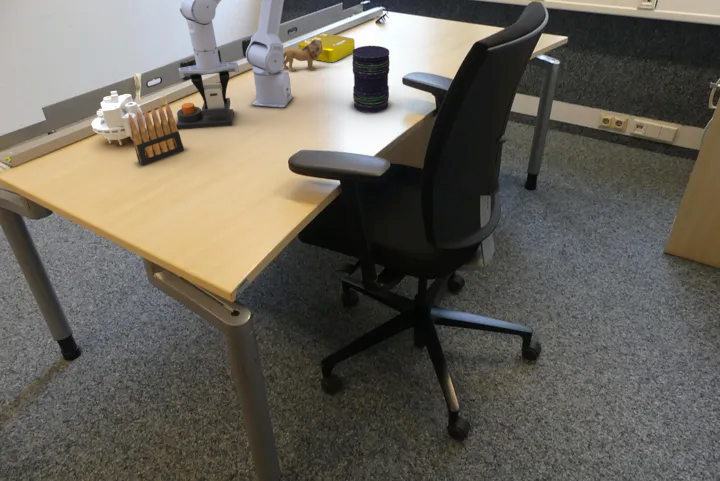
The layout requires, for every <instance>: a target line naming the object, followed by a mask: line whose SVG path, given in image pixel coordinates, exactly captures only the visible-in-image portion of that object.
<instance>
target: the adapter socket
mask: <svg viewBox="0 0 720 481" xmlns="http://www.w3.org/2000/svg"><path fill="white" fill-rule="evenodd" d="M224 106H225V108H218V109H208V107H207V104H205V103H204V102H203V104H202V108H201V110H202V114H203V116H209V115H223V114H229V109H231V98H230V97H226V102H224Z"/></svg>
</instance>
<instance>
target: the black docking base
mask: <svg viewBox="0 0 720 481" xmlns="http://www.w3.org/2000/svg"><path fill="white" fill-rule="evenodd" d="M195 111H196V112H195V113H193V114H183V110H182V108H180V109H179V110H177V112H176V115H177V120H176V126H177V130H183V129H198V128H199V129H200V128H212V127H226V126H227V127H228V126H232V125H233V120H234V113H235V112H234V109H233V108H230V109H229V114H223V115H209V116H203V114H202V108H200V107H199V106H195Z"/></svg>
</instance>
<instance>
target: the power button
mask: <svg viewBox="0 0 720 481" xmlns="http://www.w3.org/2000/svg"><path fill="white" fill-rule="evenodd" d="M195 107H196V106H195V103H193V102H186V103H183V104H182V105H181V109H182V110H183V114H193V113H195V112H196V111H195Z"/></svg>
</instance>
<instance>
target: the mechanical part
mask: <svg viewBox="0 0 720 481" xmlns="http://www.w3.org/2000/svg"><path fill="white" fill-rule="evenodd" d="M137 112H138V113H139V114H140V116H141V118H142V120H143V123H144V126H145V127H146V122H145V118H144V112H143V110H142V106H141V104H140V103H137V102H136V101H134V99H133V96H132V94H131V93H125V94H121V95H119V93H118V90H112V91H110V95H107V96H104V97H102V101H101V102H100V108H99V109H98V110H96V116H97V117H96V118H94V119H93V120H92V121H91V128H92V131H93V132H94V133H96V134H98V135H102V136H103V137H104V139H106V140H107V141H108V144H112V143H113V142H112V141H118V144H119V146H122V145H123V142H122V140H124V139H127V138H129V137H130V141H133V138H132V135H131V129H130V125H129V119H128V116H129V114H130V115H131V116H132V118H133V120H134V122H135V125H136V127H137V130H138V132H139V127H138V123H137V118H136V113H137ZM139 134H140V133H139Z"/></svg>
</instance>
